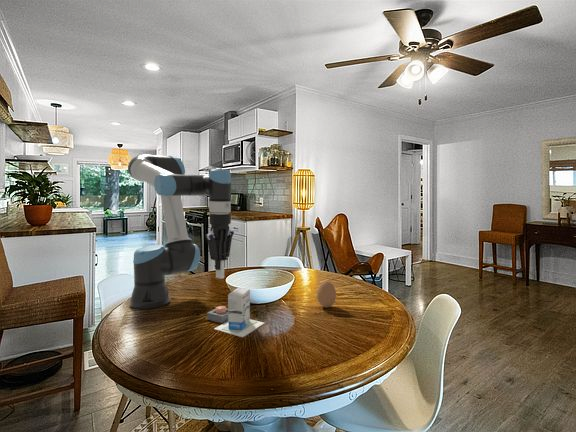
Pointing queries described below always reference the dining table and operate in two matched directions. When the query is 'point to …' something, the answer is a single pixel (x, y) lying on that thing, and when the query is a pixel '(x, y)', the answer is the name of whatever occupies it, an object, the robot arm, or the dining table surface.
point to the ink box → (239, 308)
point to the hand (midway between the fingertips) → (220, 277)
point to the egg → (326, 294)
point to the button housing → (217, 316)
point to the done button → (221, 310)
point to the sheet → (246, 330)
